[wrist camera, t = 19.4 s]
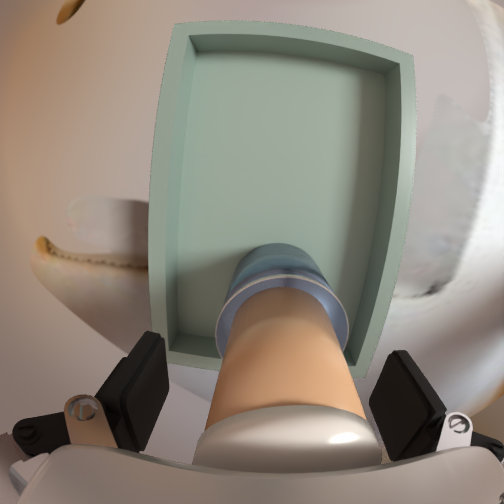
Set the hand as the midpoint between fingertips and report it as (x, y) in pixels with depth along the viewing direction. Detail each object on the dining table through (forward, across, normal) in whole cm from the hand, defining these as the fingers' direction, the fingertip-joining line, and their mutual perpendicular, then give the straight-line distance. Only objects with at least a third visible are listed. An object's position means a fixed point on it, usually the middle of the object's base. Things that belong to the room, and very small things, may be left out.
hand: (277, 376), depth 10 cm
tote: (+11, 0, -6) cm, 12 cm away
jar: (+3, 0, 0) cm, 3 cm away
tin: (+10, 0, 0) cm, 10 cm away
